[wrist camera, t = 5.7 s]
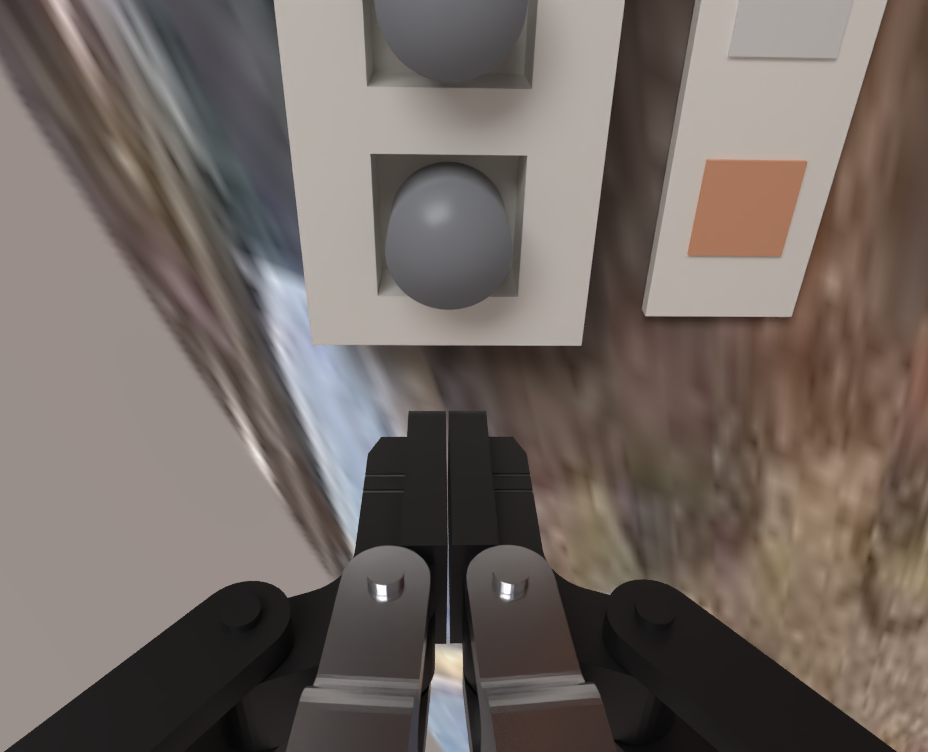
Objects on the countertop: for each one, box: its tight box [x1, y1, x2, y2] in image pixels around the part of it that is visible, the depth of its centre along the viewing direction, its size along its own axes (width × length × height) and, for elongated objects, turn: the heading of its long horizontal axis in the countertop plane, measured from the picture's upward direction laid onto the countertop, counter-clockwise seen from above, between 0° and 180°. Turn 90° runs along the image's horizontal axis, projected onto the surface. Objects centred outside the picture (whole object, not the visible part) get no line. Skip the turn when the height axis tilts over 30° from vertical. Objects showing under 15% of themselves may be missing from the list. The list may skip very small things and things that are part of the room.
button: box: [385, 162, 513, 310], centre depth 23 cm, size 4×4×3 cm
